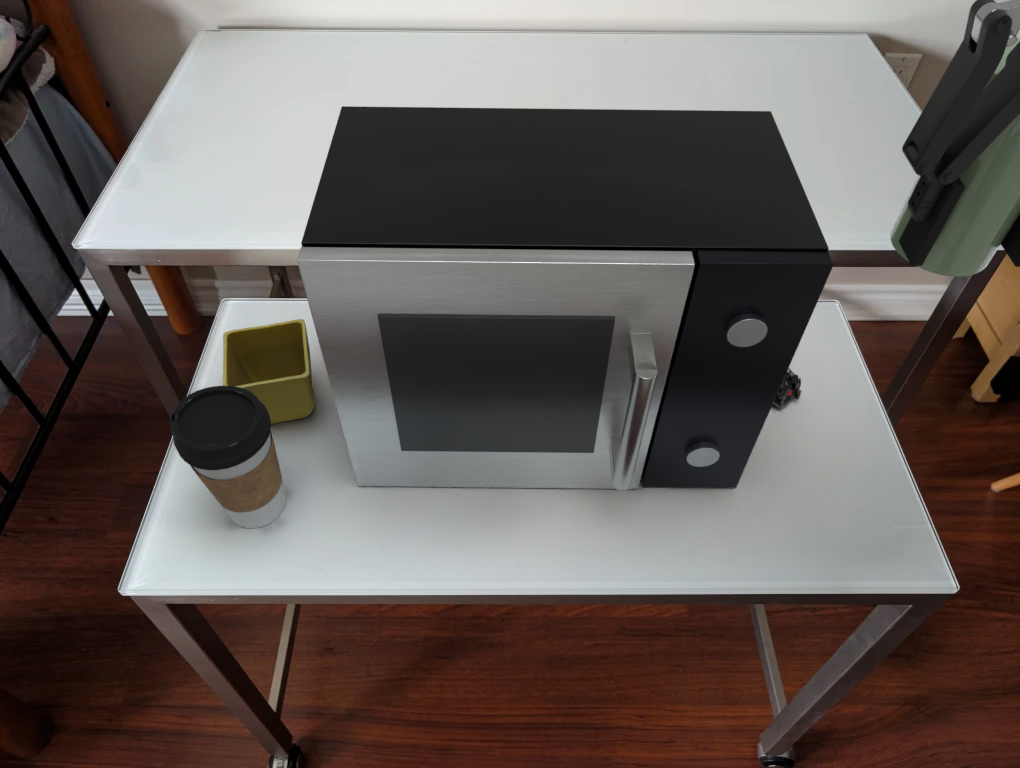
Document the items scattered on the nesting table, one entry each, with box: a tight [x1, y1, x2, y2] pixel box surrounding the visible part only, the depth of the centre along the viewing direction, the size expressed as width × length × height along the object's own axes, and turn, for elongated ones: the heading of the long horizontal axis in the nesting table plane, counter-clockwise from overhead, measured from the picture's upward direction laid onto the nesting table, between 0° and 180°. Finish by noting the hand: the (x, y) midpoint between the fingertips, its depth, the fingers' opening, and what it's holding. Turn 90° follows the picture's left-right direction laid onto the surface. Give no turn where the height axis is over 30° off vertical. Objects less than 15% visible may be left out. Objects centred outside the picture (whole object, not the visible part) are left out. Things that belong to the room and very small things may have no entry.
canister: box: [889, 37, 1020, 278], centre depth 51 cm, size 7×7×14 cm
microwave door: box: [296, 246, 695, 492], centre depth 66 cm, size 6×30×31 cm, turn 90°
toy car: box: [773, 367, 802, 410], centre depth 88 cm, size 6×12×4 cm, turn 1°
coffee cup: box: [169, 385, 287, 529], centre depth 72 cm, size 8×8×15 cm
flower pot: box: [222, 318, 315, 425], centre depth 82 cm, size 9×9×9 cm
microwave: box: [300, 105, 835, 489], centre depth 74 cm, size 22×40×31 cm, turn 90°
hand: (961, 253), depth 53 cm, fingers closed on canister, 7 cm apart
